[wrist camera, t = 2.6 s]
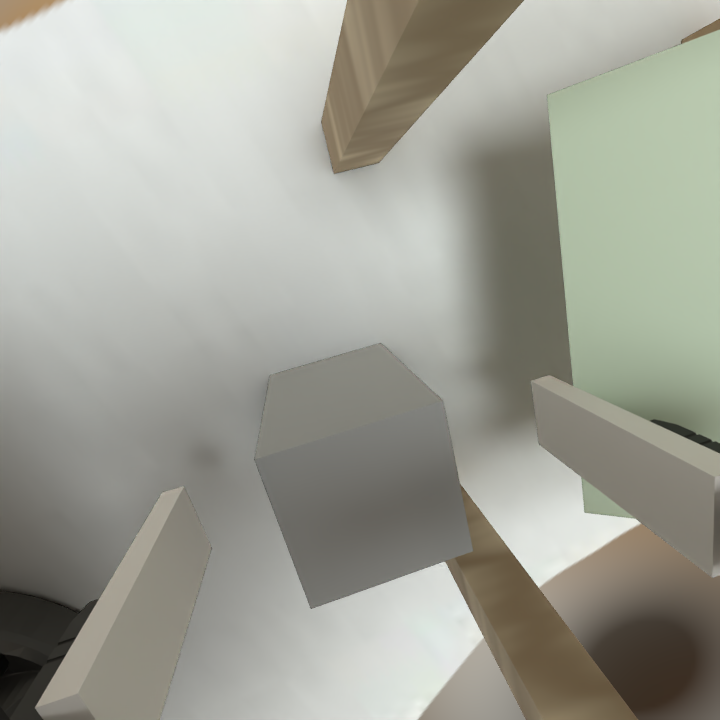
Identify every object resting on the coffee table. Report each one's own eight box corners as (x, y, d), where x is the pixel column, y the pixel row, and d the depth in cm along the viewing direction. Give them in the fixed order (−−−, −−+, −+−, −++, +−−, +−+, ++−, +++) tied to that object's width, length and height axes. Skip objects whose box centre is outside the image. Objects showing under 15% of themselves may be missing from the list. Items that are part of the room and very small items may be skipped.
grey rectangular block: (303, 472, 20) (310, 609, 12) (269, 374, 18) (254, 459, 10) (404, 440, 20) (473, 551, 12) (380, 342, 18) (443, 400, 11)
